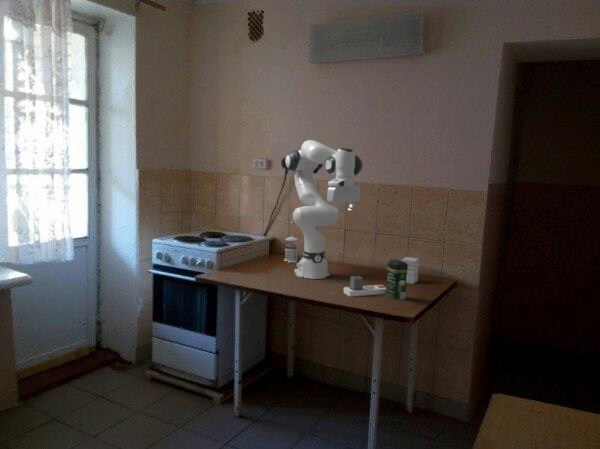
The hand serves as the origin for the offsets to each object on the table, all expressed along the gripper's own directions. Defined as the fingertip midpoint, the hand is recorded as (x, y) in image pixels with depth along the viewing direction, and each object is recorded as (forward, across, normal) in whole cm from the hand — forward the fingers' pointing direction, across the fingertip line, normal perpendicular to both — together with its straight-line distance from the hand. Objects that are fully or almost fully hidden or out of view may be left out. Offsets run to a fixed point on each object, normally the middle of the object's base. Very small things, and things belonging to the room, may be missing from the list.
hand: (343, 211), depth 232 cm
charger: (+39, -2, +8) cm, 40 cm away
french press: (+39, -29, -67) cm, 83 cm away
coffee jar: (+40, -14, +22) cm, 48 cm away
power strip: (+40, -7, +10) cm, 42 cm away
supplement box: (+40, -46, +8) cm, 62 cm away
